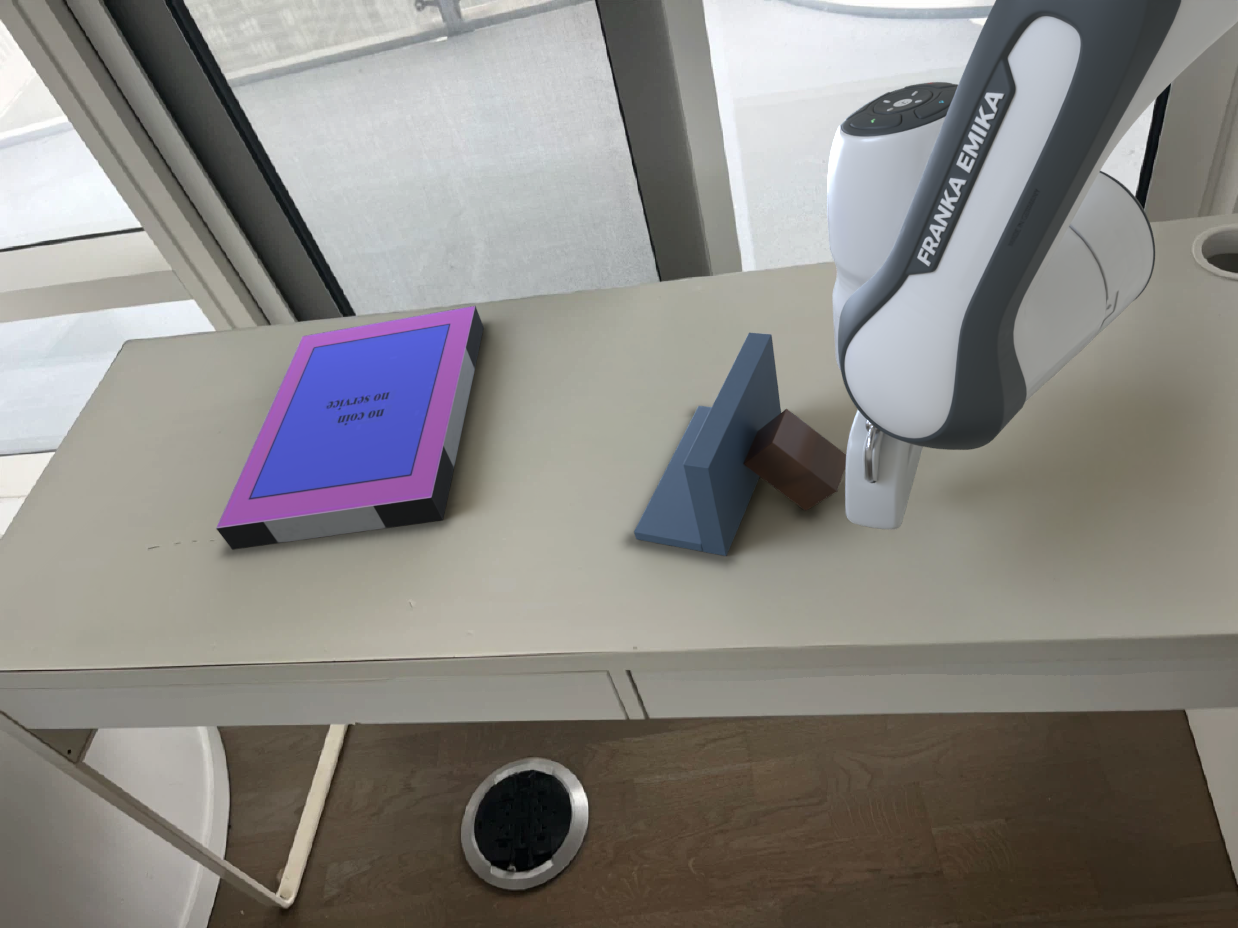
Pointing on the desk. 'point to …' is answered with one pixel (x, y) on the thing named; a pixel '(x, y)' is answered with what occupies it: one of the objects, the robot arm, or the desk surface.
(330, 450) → the book
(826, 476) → the walnut block
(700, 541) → the bookend
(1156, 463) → the desk surface
